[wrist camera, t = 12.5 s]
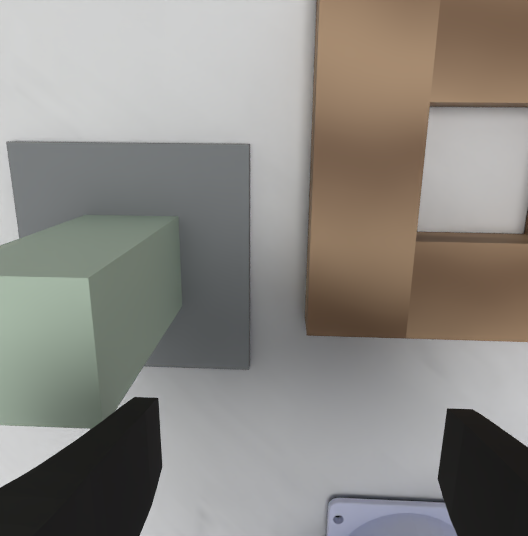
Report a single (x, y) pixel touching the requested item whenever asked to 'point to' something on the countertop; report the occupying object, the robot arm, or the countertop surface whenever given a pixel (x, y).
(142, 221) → the sage block
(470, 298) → the pocket holder
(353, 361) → the countertop surface
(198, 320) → the slate mat
